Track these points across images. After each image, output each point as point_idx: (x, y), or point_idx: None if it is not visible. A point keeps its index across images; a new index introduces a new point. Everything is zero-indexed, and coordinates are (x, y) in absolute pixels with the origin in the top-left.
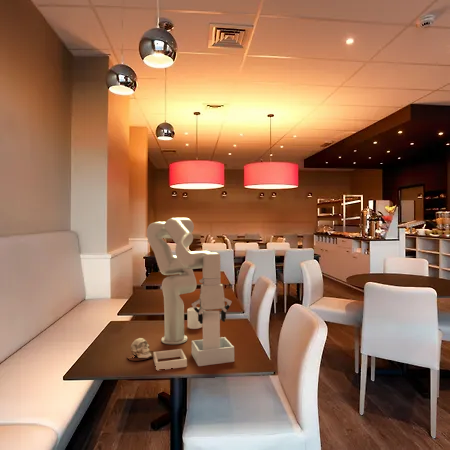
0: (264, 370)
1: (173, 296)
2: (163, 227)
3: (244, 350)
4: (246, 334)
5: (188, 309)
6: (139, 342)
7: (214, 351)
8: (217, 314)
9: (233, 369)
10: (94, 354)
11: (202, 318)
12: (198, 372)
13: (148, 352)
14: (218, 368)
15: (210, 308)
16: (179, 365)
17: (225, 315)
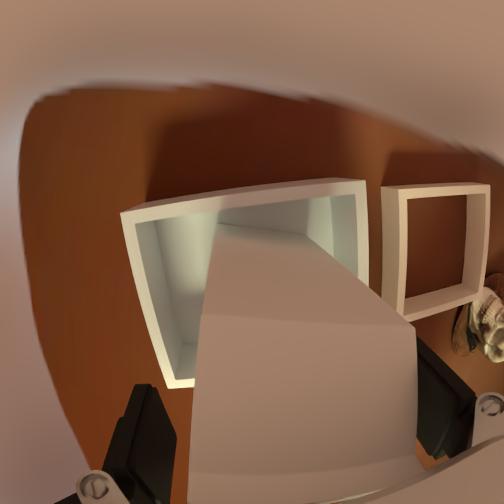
0: (47, 94)
1: None
2: None
3: (90, 328)
4: (98, 454)
5: None
6: None
7: (257, 189)
8: (224, 457)
9: (166, 108)
10: None
11: (431, 372)
12: (338, 110)
13: (487, 302)
14: (238, 130)
15: (417, 494)
16: (412, 185)
17: (113, 442)
